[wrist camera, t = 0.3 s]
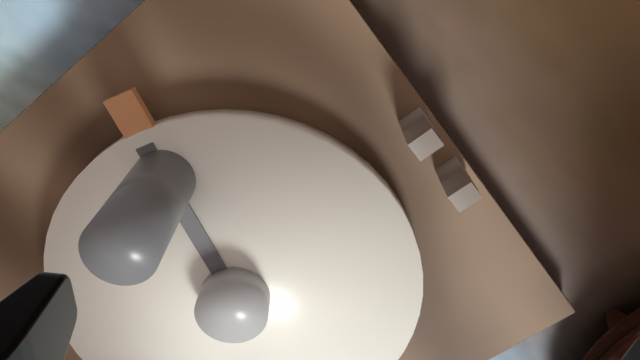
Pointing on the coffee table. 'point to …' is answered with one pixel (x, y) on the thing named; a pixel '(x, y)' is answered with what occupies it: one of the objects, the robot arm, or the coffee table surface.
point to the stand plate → (303, 106)
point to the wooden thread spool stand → (616, 336)
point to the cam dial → (233, 243)
